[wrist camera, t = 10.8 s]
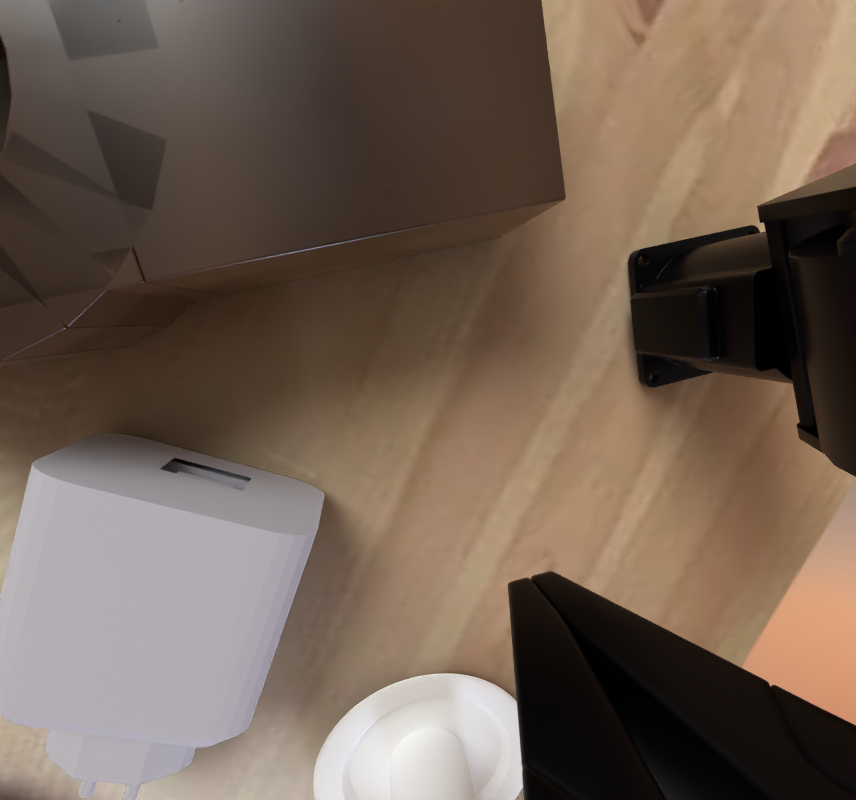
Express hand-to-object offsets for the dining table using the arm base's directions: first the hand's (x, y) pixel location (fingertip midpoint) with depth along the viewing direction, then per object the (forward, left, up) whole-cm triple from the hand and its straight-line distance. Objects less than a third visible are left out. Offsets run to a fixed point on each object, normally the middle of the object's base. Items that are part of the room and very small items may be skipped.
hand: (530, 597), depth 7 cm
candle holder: (+4, +18, -12) cm, 23 cm away
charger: (+13, +5, -12) cm, 19 cm away
